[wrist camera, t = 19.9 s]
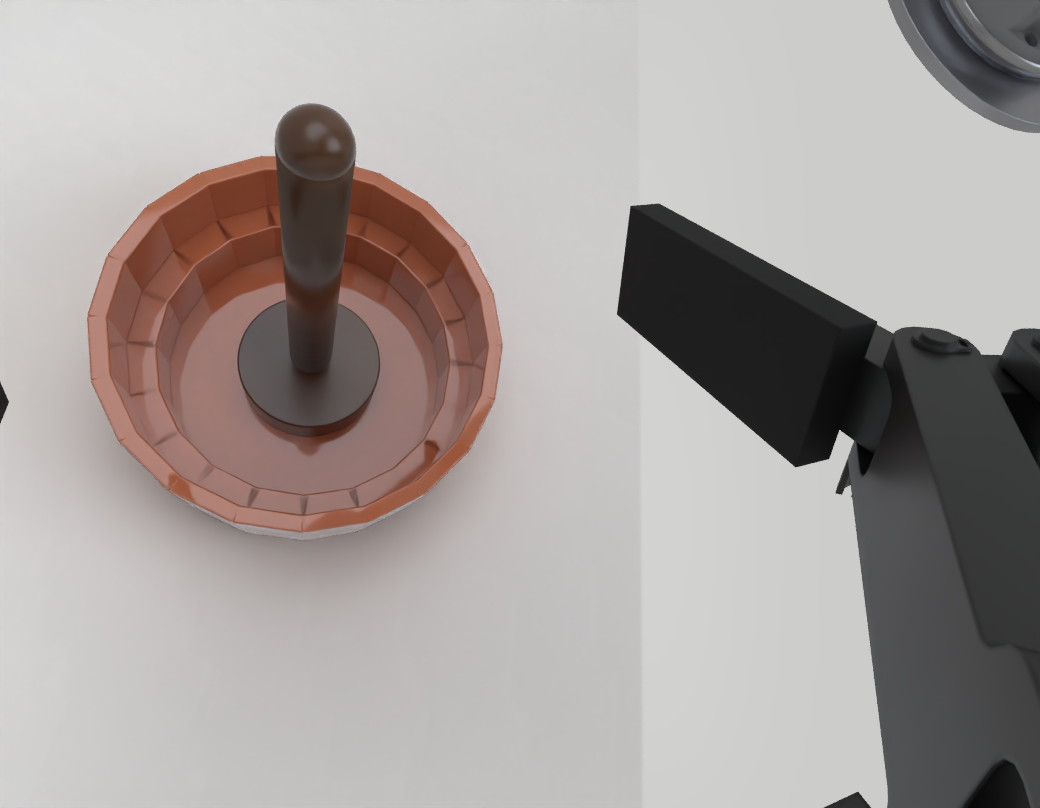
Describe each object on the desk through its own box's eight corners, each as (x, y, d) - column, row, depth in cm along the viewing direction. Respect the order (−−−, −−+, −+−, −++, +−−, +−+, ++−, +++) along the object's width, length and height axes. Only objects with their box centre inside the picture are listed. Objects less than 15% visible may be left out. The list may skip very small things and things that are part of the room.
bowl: (386, 192, 34) (402, 116, 28) (518, 451, 32) (562, 424, 27) (73, 291, 28) (17, 221, 23) (218, 602, 27) (195, 609, 22)
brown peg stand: (342, 295, 31) (384, -24, 15) (397, 404, 31) (504, 203, 14) (219, 340, 29) (104, 29, 12) (275, 458, 29) (235, 297, 12)
